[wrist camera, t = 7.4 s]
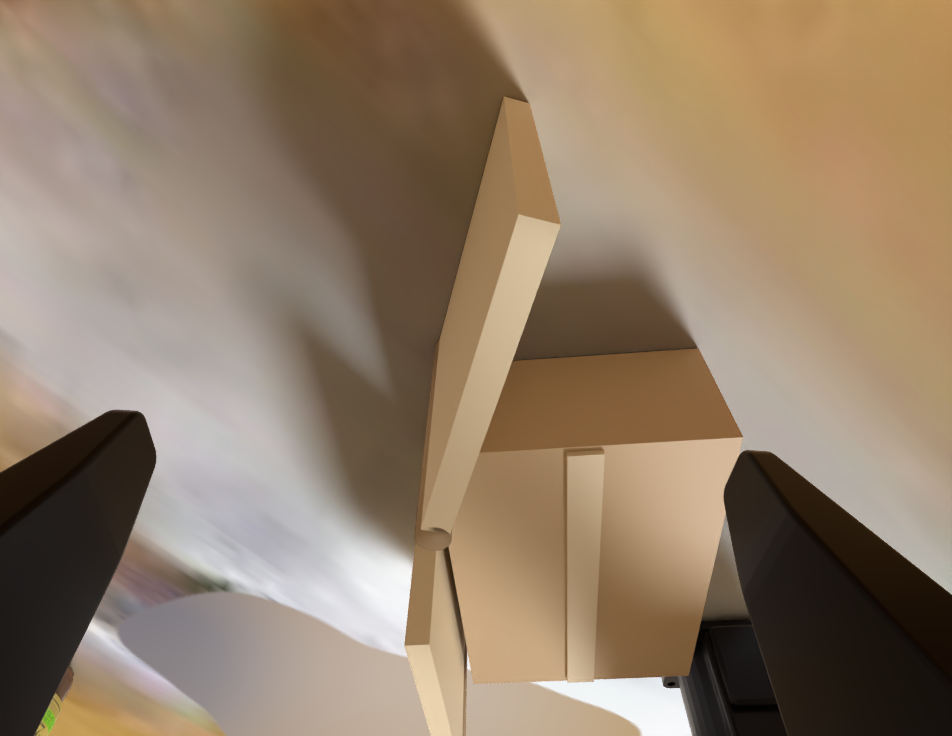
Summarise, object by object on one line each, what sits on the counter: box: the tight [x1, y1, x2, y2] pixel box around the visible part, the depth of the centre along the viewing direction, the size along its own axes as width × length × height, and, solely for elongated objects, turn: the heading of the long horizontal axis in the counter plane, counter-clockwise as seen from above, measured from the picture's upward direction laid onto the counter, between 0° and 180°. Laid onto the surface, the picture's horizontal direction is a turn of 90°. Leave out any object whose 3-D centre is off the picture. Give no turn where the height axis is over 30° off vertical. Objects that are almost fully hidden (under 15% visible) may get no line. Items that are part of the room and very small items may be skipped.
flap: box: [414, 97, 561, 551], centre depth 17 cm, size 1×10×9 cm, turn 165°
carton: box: [448, 348, 743, 684], centre depth 26 cm, size 15×10×5 cm, turn 5°
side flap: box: [405, 542, 467, 736], centre depth 26 cm, size 11×1×9 cm, turn 5°
